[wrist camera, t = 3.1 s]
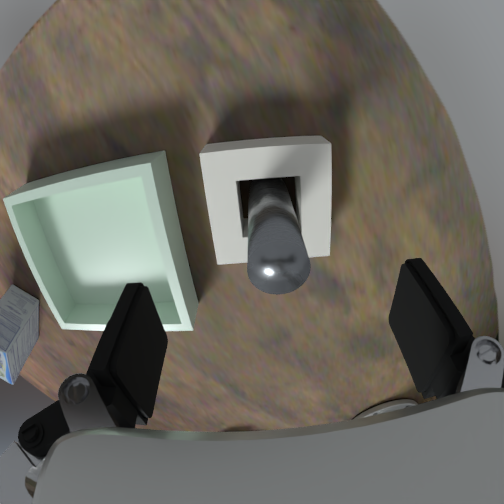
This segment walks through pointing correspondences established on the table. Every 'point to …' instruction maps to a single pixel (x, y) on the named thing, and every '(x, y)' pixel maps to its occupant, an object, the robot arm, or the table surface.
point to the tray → (105, 241)
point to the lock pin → (274, 239)
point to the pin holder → (267, 166)
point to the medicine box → (17, 331)
